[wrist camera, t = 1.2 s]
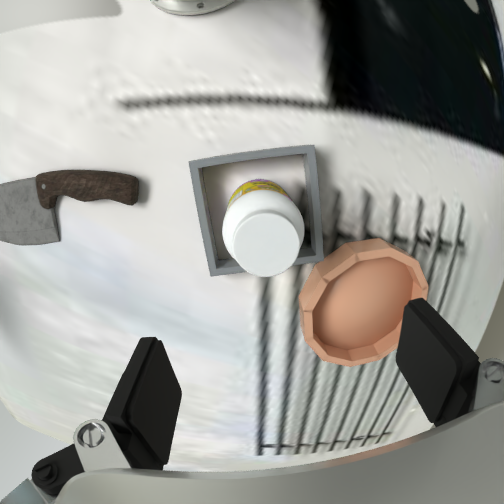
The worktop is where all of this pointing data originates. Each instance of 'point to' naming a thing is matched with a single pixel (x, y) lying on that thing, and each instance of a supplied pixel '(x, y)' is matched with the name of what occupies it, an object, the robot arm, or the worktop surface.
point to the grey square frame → (196, 166)
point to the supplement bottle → (263, 228)
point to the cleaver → (44, 199)
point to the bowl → (359, 301)
